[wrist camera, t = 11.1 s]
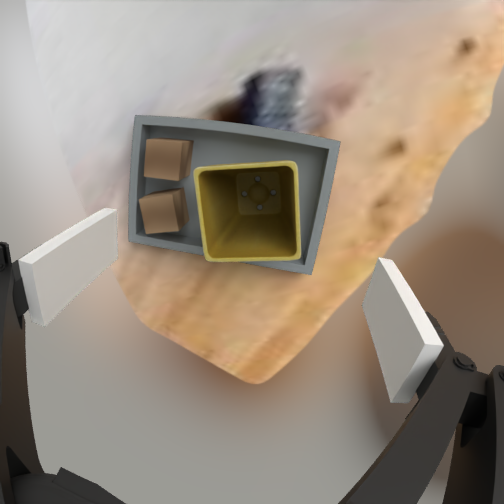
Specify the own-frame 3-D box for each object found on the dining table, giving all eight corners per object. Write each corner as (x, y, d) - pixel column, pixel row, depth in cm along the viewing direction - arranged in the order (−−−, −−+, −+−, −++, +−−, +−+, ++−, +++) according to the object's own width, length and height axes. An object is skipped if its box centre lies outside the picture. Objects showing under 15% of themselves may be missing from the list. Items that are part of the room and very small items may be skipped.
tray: (146, 115, 33) (134, 115, 31) (336, 140, 32) (340, 141, 30) (138, 233, 39) (128, 241, 36) (309, 264, 38) (311, 275, 35)
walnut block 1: (161, 137, 34) (146, 139, 30) (193, 140, 33) (182, 142, 30) (158, 170, 35) (143, 176, 32) (190, 174, 35) (178, 180, 31)
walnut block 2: (153, 191, 36) (138, 199, 33) (183, 187, 36) (172, 194, 32) (159, 223, 38) (146, 234, 34) (189, 220, 37) (178, 230, 33)
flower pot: (223, 231, 37) (204, 263, 29) (215, 157, 34) (191, 167, 26) (298, 229, 36) (301, 260, 28) (295, 152, 33) (297, 160, 25)
